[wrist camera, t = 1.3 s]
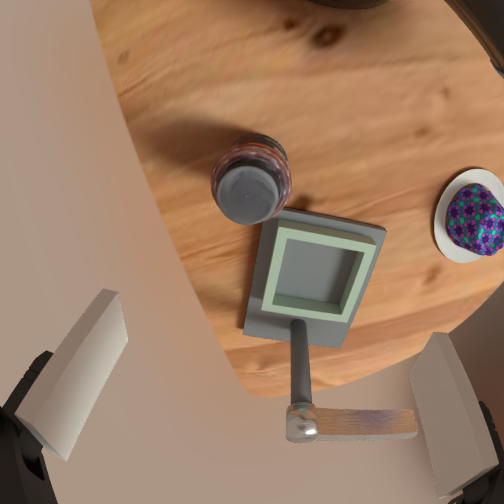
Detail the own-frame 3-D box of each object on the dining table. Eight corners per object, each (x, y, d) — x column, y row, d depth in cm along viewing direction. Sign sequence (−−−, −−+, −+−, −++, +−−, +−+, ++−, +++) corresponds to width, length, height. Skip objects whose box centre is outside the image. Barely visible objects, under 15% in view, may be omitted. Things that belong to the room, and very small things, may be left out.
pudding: (511, 175, 26) (537, 188, 21) (491, 261, 31) (510, 281, 27) (440, 159, 27) (465, 171, 22) (421, 259, 32) (439, 282, 28)
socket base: (266, 203, 31) (256, 270, 19) (384, 227, 31) (433, 298, 19) (243, 329, 39) (229, 414, 27) (339, 343, 39) (352, 425, 27)
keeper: (283, 415, 26) (282, 441, 23) (290, 400, 25) (290, 428, 22) (403, 419, 26) (408, 441, 23) (416, 404, 25) (422, 427, 22)
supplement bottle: (221, 183, 30) (191, 225, 20) (235, 126, 27) (210, 138, 17) (278, 199, 30) (277, 249, 20) (295, 143, 28) (305, 165, 18)
